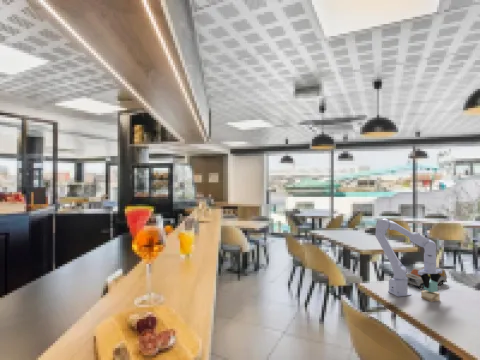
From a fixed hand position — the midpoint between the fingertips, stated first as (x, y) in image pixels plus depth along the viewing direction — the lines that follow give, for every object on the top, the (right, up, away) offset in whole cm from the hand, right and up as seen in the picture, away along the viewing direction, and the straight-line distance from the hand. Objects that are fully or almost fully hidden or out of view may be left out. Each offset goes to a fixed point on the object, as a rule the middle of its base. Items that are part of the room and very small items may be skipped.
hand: (430, 287), depth 158 cm
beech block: (0, -7, 0) cm, 7 cm away
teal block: (0, -2, 0) cm, 2 cm away
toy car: (+13, -7, +23) cm, 28 cm away
